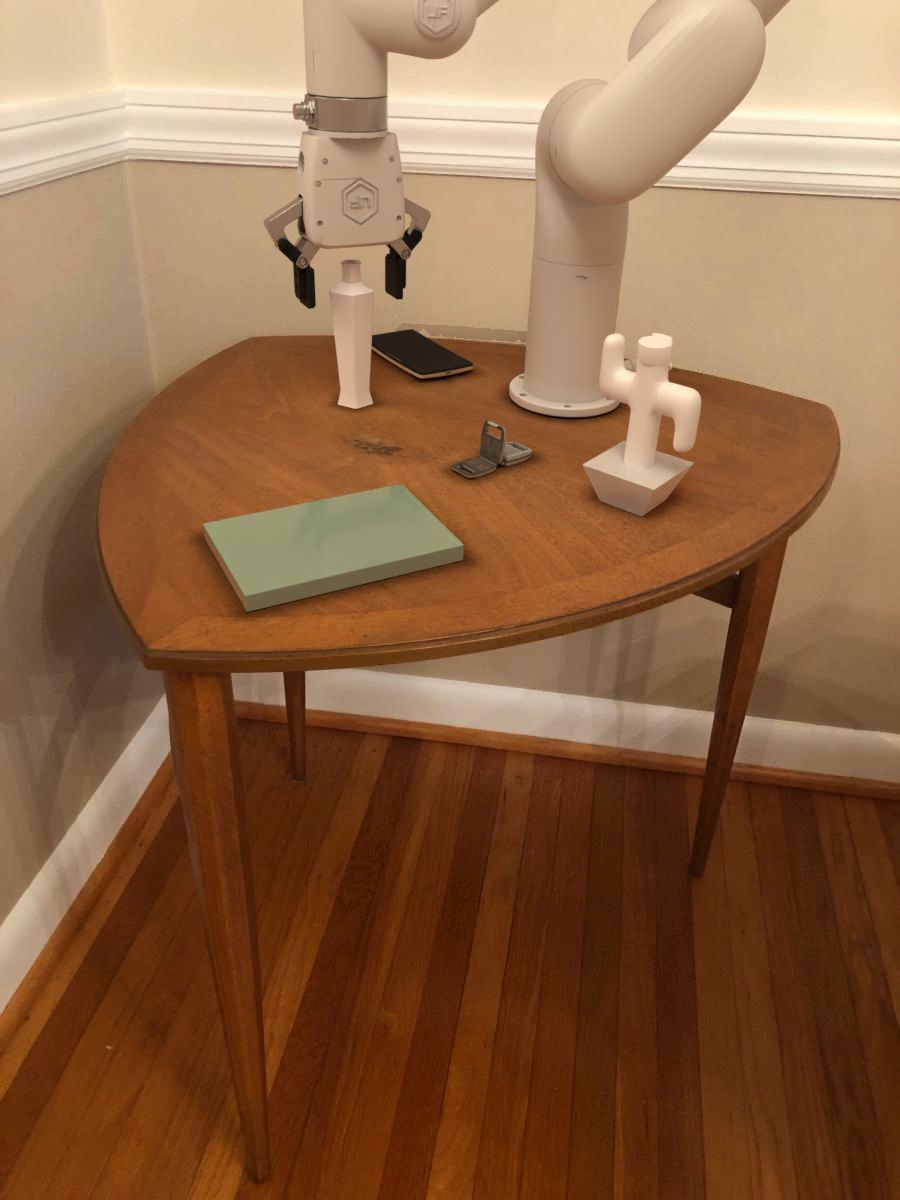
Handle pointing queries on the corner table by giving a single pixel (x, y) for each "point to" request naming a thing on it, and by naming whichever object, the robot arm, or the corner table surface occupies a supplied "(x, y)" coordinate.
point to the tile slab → (329, 545)
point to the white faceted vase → (353, 335)
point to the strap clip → (493, 454)
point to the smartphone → (418, 354)
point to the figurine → (643, 426)
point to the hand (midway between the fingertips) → (351, 300)
